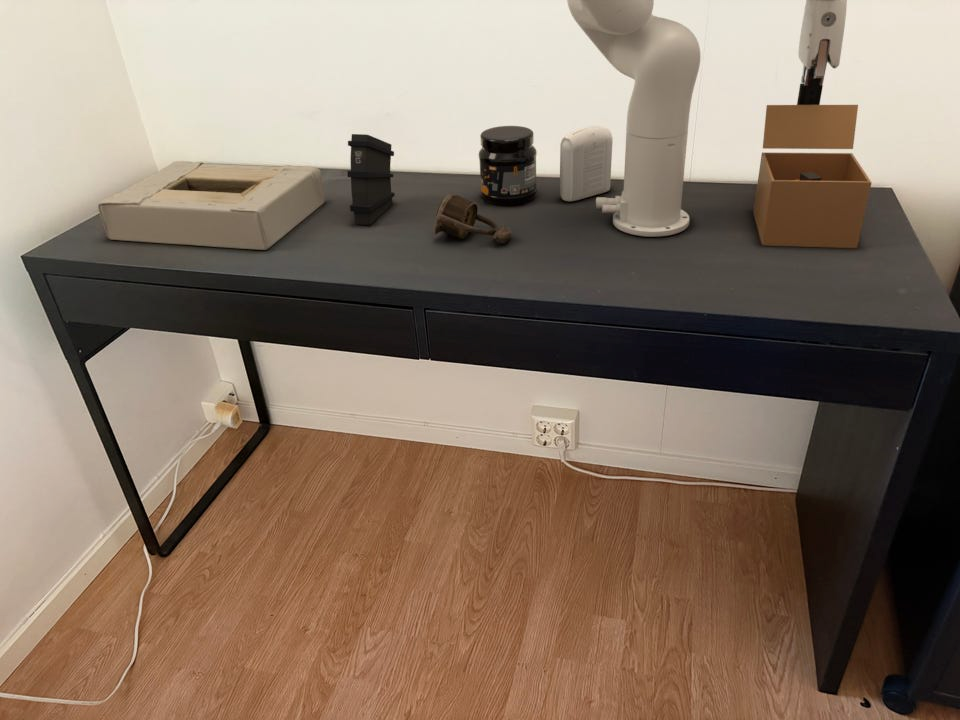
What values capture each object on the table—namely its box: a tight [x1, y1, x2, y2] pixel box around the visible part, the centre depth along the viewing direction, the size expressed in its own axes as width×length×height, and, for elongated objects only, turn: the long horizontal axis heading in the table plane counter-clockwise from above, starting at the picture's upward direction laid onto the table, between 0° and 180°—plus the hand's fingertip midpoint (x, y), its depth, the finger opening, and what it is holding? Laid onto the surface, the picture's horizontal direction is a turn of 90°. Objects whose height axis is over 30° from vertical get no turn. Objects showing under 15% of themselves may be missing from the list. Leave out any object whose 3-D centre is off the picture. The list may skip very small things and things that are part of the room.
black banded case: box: [347, 133, 396, 226], centre depth 138 cm, size 4×13×15 cm, turn 163°
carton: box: [752, 152, 873, 249], centre depth 122 cm, size 14×14×10 cm
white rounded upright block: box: [559, 125, 613, 202], centre depth 140 cm, size 10×4×12 cm, turn 123°
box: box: [97, 160, 326, 251], centre depth 140 cm, size 23×8×32 cm
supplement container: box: [478, 125, 538, 206], centre depth 141 cm, size 10×10×12 cm
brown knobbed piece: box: [432, 193, 512, 245], centre depth 127 cm, size 7×13×10 cm
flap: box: [762, 104, 859, 150], centre depth 124 cm, size 14×7×1 cm
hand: (807, 109), depth 127 cm, fingers closed
